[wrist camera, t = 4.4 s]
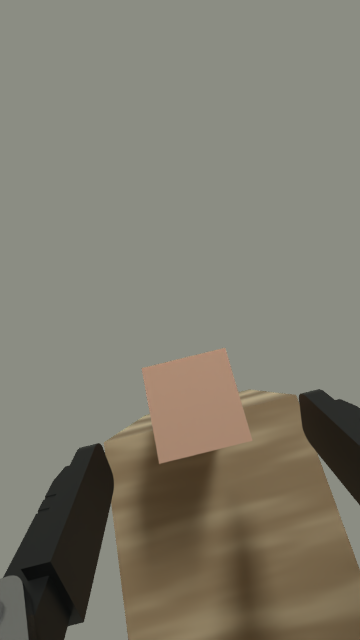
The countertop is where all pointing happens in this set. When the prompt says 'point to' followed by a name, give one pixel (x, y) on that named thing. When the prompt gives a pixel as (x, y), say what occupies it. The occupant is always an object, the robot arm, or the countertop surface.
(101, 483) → the robot arm
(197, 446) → the terracotta bar
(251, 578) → the oak stand
